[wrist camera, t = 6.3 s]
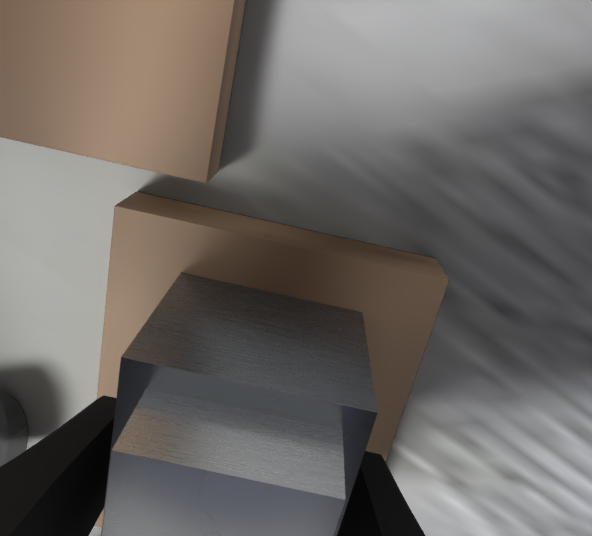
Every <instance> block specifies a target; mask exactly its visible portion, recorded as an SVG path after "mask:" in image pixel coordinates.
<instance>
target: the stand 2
mask: <svg viewBox="0 0 592 536" xmlns="http://www.w3.org/2000/svg"><path fill="white" fill-rule="evenodd" d="M181 272H183V273H188V274H192V275H197V276H201V277H206V278H210V279H215V280H219V281H224V282H228V283H233V284H237V285H242V286H246V287H251V288H255V289H260V290H264V291H269V292H273V293H278V294H282V295H287V296H291V297H296V298H300V299H305V300H309V301H314V302H318V303H323V304H327V305H332V306H336V307H341V308H345V309H350V310H354V311H359V312H363V318H364V325H365V331H366V338H367V345H368V351H369V358H370V365H371V371H372V378H373V385H374V391H375V398H376V405H377V411H378V414H377V417H376V420H375V423H374V426H373V429H372V432H371V435H370V438H369V441H368V444H367V447H366V450H365V451H368V452H372V453H377V454H381V455H382V457H383V458H384V460H385V462H386V459H387V457H388V454H389V451H390V448H391V445H392V442H393V439H394V437H395V434H396V431H397V428H398V425H399V422H400V419H401V417H402V414H403V411H404V408H405V405H406V402H407V399H408V397H409V394H410V391H411V388H412V385H413V382H414V380H415V377H416V374H417V371H418V368H419V365H420V362H421V360H422V357H423V354H424V351H425V348H426V345H427V342H428V340H429V337H430V334H431V331H432V328H433V325H434V322H435V320H436V317H437V314H438V311H439V308H440V305H441V302H442V300H443V297H444V294H445V291H446V288H447V285H448V282H449V279H448V277H447V276H446V274H445V272H444V270H443V269H442V267H441V265H440V264H439V262H438V260H437V259H435V258H431V257H426V256H422V255H418V254H413V253H409V252H404V251H400V250H395V249H391V248H386V247H382V246H377V245H373V244H368V243H364V242H359V241H355V240H350V239H346V238H342V237H337V236H333V235H328V234H324V233H319V232H315V231H310V230H306V229H301V228H297V227H292V226H288V225H283V224H279V223H274V222H270V221H265V220H261V219H257V218H252V217H248V216H243V215H239V214H234V213H230V212H225V211H221V210H216V209H212V208H207V207H203V206H198V205H194V204H189V203H185V202H181V201H176V200H172V199H167V198H163V197H158V196H154V195H149V194H145V193H140V192H135V193H134V194H132V195H131V196H129V197H128V198H126V199H124V200H123V201H121V202H120V203H118V204H117V205H115V208H114V219H113V230H112V241H111V251H110V262H109V273H108V284H107V295H106V306H105V316H104V327H103V338H102V349H101V360H100V371H99V381H98V392H97V399H98V398H100V397H102V396H103V395H104V396H109V397H114V398H117V389H118V380H119V371H120V362H121V357H122V355H123V354H124V352H125V351H126V349H127V348H128V347H129V345H130V344H131V342H132V341H133V340H134V338H135V337H136V335H137V334H138V332H139V331H140V330H141V328H142V327H143V325H144V324H145V323H146V321H147V320H148V318H149V317H150V316H151V314H152V313H153V311H154V310H155V308H156V307H157V306H158V304H159V303H160V301H161V300H162V299H163V297H164V296H165V294H166V293H167V291H168V290H169V289H170V287H171V286H172V284H173V283H174V282H175V280H176V279H177V277H178V276H179V275H180V273H181ZM103 514H104V509H103V510H102V512H101V514H100V516H99V518H98V519H97V521H96V523H95V526H100V527H102V523H103Z"/></svg>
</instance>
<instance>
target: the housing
mask: <svg viewBox="0 0 592 536" xmlns="http://www.w3.org/2000/svg"><path fill="white" fill-rule="evenodd" d="M377 414H378V411H377V405H376V398H375V391H374V385H373V378H372V371H371V365H370V358H369V351H368V345H367V338H366V331H365V325H364V318H363V312H359V311H354V310H350V309H345V308H341V307H336V306H332V305H327V304H323V303H318V302H314V301H309V300H305V299H300V298H296V297H291V296H287V295H282V294H278V293H273V292H269V291H264V290H260V289H255V288H251V287H246V286H242V285H237V284H233V283H228V282H224V281H219V280H215V279H210V278H206V277H201V276H197V275H192V274H188V273H183V272H181V273H180V275H179V276H178V277H177V279H176V280H175V282H174V283H173V284H172V286H171V287H170V289H169V290H168V291H167V293H166V294H165V296H164V297H163V299H162V300H161V301H160V303H159V304H158V306H157V307H156V308H155V310H154V311H153V313H152V314H151V316H150V317H149V318H148V320H147V321H146V323H145V324H144V325H143V327H142V328H141V330H140V331H139V332H138V334H137V335H136V337H135V338H134V340H133V341H132V342H131V344H130V345H129V347H128V348H127V349H126V351H125V352H124V354H123V355H122V357H121V362H120V371H119V380H118V389H117V398H116V407H115V416H114V425H113V433H112V442H111V451H110V460H109V469H108V478H107V487H106V496H105V505H104V514H103V523H102V532H101V536H337V534H338V531H339V528H340V525H341V522H342V519H343V516H344V513H345V510H346V507H347V504H348V501H349V498H350V495H351V492H352V489H353V486H354V483H355V480H356V477H357V474H358V471H359V468H360V465H361V462H362V459H363V456H364V453H365V450H366V447H367V444H368V441H369V438H370V435H371V432H372V429H373V426H374V423H375V420H376V417H377Z"/></svg>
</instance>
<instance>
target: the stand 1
mask: <svg viewBox="0 0 592 536" xmlns="http://www.w3.org/2000/svg"><path fill="white" fill-rule="evenodd" d="M245 5H246V0H0V137H3V138H7V139H12V140H16V141H20V142H25V143H29V144H34V145H38V146H43V147H47V148H52V149H56V150H61V151H65V152H69V153H74V154H78V155H83V156H87V157H92V158H96V159H101V160H105V161H109V162H114V163H118V164H123V165H127V166H132V167H136V168H141V169H145V170H149V171H154V172H158V173H163V174H167V175H172V176H176V177H181V178H185V179H189V180H194V181H198V182H203V183H207V182H208V181H209V180H210V179H211V178H212V177H213V176H214V175H215V174H216V173H217V172H218V171H219V165H220V159H221V153H222V147H223V140H224V134H225V128H226V122H227V116H228V110H229V104H230V97H231V91H232V85H233V79H234V73H235V67H236V60H237V54H238V48H239V42H240V36H241V30H242V24H243V17H244V11H245Z"/></svg>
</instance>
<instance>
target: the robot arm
mask: <svg viewBox="0 0 592 536" xmlns="http://www.w3.org/2000/svg"><path fill="white" fill-rule="evenodd" d="M115 407H116V398H114V397H109V396H104V395H103V396H102V397H100V398H98V399H97V400H96V401H94V402H93V403H92V404H90V405H89V406H88V407H86V408H85V409H84V410H82V411H81V412H80V413H78V414H77V415H76V416H74V417H73V418H72V419H70V420H69V421H68V422H66V423H65V424H63V425H62V426H61V427H59V428H58V429H57V430H55V431H54V432H52V433H51V434H49V435H48V436H46V437H45V438H44V439H42V440H41V441H39V442H38V443H36V444H35V445H34V446H32V447H31V448H29V449H28V450H26V451H24V452H23V453H21V454H20V455H18V456H17V457H15V458H13V459H12V460H10V461H9V462H7V463H5V464H4V465H2V466H1V467H0V536H89V534H90V532H91V530H92V528H93V527H94V525H95V523H96V521H97V519H98V518H99V516H100V514H101V512H102V510H103V509H104V505H105V496H106V487H107V478H108V469H109V460H110V451H111V442H112V433H113V425H114V416H115ZM337 536H425V534H424V532H423V531H422V529H421V527H420V526H419V524H418V522H417V520H416V519H415V517H414V515H413V513H412V512H411V510H410V508H409V506H408V505H407V503H406V501H405V499H404V497H403V495H402V493H401V491H400V490H399V488H398V486H397V484H396V482H395V480H394V478H393V476H392V474H391V472H390V470H389V468H388V466H387V464H386V462H385V460H384V458H383V457H382V455H381V454H377V453H372V452H368V451H365V453H364V456H363V459H362V462H361V465H360V468H359V471H358V474H357V477H356V480H355V483H354V486H353V489H352V492H351V495H350V498H349V501H348V504H347V507H346V510H345V513H344V516H343V519H342V522H341V525H340V528H339V531H338V534H337Z"/></svg>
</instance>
